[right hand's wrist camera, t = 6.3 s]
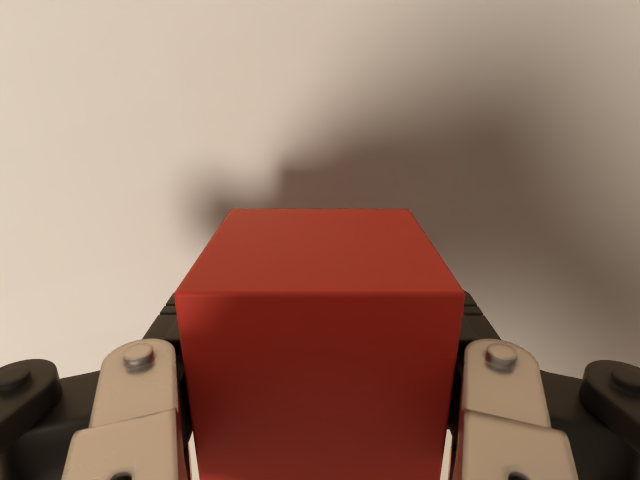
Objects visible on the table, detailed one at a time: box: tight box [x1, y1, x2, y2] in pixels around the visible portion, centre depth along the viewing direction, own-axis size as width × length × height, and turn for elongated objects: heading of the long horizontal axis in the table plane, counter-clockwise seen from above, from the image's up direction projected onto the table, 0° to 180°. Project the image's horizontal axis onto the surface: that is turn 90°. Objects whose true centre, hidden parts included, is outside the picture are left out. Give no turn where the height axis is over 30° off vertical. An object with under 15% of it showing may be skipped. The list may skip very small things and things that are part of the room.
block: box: [174, 209, 465, 480], centre depth 10 cm, size 5×5×5 cm
